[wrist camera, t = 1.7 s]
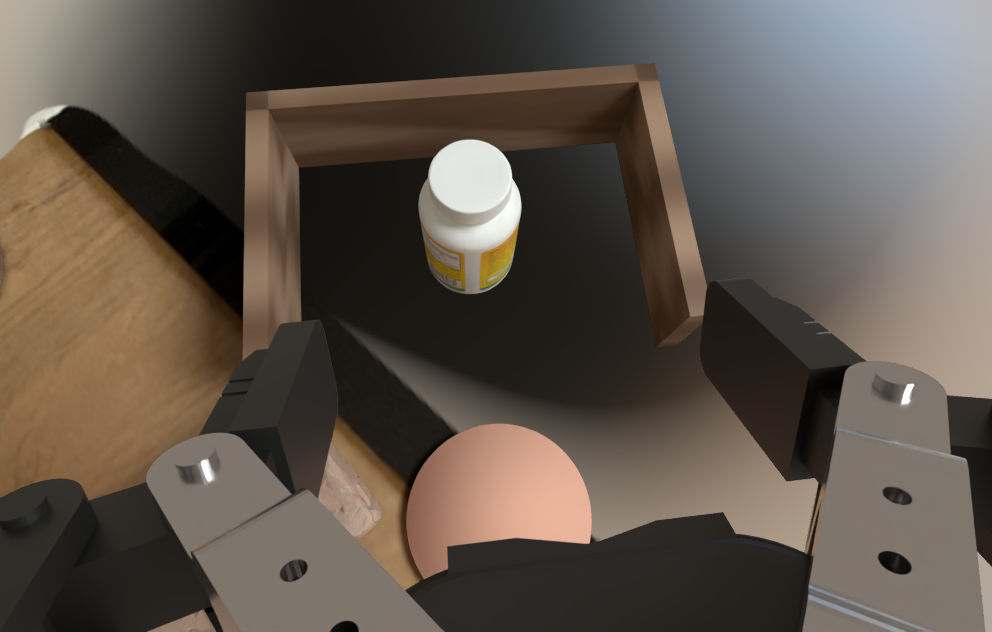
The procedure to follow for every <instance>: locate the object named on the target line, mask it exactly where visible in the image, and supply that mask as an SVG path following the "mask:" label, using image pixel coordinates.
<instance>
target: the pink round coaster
mask: <svg viewBox="0 0 992 632" xmlns="http://www.w3.org/2000/svg"><path fill="white" fill-rule="evenodd" d="M406 516H407V536H408V542H409V546H410V550H411V554H412V556H413V559H414V561H415V564H416V566H417V568H418V570H419V571H420V573H421V575H422V577H423V578H424V579H426V578H428V577H430V576H432V575H434V574H436V573H439V572H441V571H444V570H446V569H448V556H447V546H454V545H462V544H470V543H478V542H486V541H494V540H503V539H511V538H525V539H536V540H548V541H560V542H572V543H585V544H589V543H590V537H591V525H592V516H591V506H590V502H589V496H588V493H587V490H586V487H585V484H584V481H583V479H582V477H581V476H580V473H579V471H578V470H577V468H576V467H575V465H574V464H573V462H572V461H571V459H570V458H569V457H568V456H567V455H566V454H565V452H564V451H563V450H562V449H560V448H559V447H558V446H557V445H556V444H555V443H554V442H552V441H551V440H549V439H548V438H546V437H545V436H543V435H541V434H539V433H537V432H535V431H533V430H530V429H527V428H525V427H521V426H516V425H510V424H487V425H481V426H477V427H474V428H471V429H468V430H465V431H463V432H461V433H459V434H456V435H455V436H453V437H452V438H450V439H449V440H447V441H446V442H444V443H443V444H442V445H441V446H440V447H438V448H437V449H436V450H435V451H434V452H433V454H432V455H431V456H430V457H429V458H428V459H427V461H426V462H425V464H424V465H423V466H422V468H421V470H420V471H419V473H418V475H417V477H416V479H415V482H414V484H413V487H412V489H411V493H410V497H409V501H408V507H407V515H406Z"/></svg>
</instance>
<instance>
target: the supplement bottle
mask: <svg viewBox="0 0 992 632" xmlns="http://www.w3.org/2000/svg"><path fill="white" fill-rule="evenodd" d="M520 214H521V199H520V194H519V191H518V188H517V186H516V184H515V182H514V181H513V179H512V172H511V168H510V165H509V163H508V161H507V159H506V158H505V156H504V155H503V154H502V152H501V151H499V150H498V149H497V148H496V147H494V146H492V145H490V144H489V143H486V142H483V141H479V140H461V141H457V142H454V143H451V144H449V145H448V146H446V147H445V148H443V149H442V150H440V151H439V152H438V153H437V155H436V156H435V157H434V159H433V161H432V163H431V165H430V168H429V175H428V179H427V180H426V182H425V183H424V185H423V187H422V190H421V193H420V197H419V215H420V221H421V227H422V233H423V238H424V244H425V250H426V256H427V261H428V264H429V268H430V270H431V272H432V274H433V275H434V277H435V278H436V279H437V280H438V281H439V282H440V283H441V284H442V285H444V286H445V287H446V288H448V289H450V290H452V291H455V292H458V293H463V294H477V293H481V292H485V291H488V290H490V289H491V288H493V287H494V286H496V285H497V284H498V283H499V282H500V281H502V279H503V278H504V277H505V276H506V275H507V273H508V271H509V269H510V267H511V264H512V261H513V255H514V249H515V242H516V237H517V231H518V226H519V220H520Z"/></svg>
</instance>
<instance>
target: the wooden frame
mask: <svg viewBox="0 0 992 632" xmlns="http://www.w3.org/2000/svg"><path fill="white" fill-rule="evenodd" d="M461 140H479V141H483V142H486V143H489V144H490V145H492V146H494V147H496V148H497V149H498V150H499V151H512V150H524V149H537V148H549V147H561V146H573V145H585V144H599V143H611V142H615V143H616V148H617V153H618V158H619V163H620V168H621V173H622V178H623V183H624V188H625V193H626V198H627V203H628V208H629V213H630V218H631V223H632V228H633V233H634V238H635V243H636V248H637V253H638V257H639V263H640V268H641V273H642V278H643V283H644V288H645V293H646V298H647V303H648V308H649V312H650V318H651V323H652V328H653V333H654V338H655V343H656V347H660V346H669V345H676V344H677V343H679V342H680V341H681V340H682V339H684V338H685V337H686V336H687V335H688V334H690V333H691V332H692V331H693V330H694V329H696V328H697V327H698V326H700V325H701V324H702V323H703V314H704V305H705V296H706V290H707V285H706V281H705V277H704V272H703V268H702V264H701V260H700V255H699V251H698V247H697V242H696V239H695V234H694V230H693V225H692V221H691V217H690V212H689V208H688V204H687V200H686V195H685V191H684V187H683V182H682V178H681V174H680V169H679V165H678V161H677V157H676V152H675V148H674V144H673V140H672V135H671V131H670V127H669V122H668V118H667V114H666V110H665V106H664V101H663V97H662V93H661V88H660V84H659V79H658V75H657V71H656V67H655V63H652V64H639V65H626V66H625V65H624V66H611V67H596V68H582V69H568V70H555V71H542V72H527V73H513V74H501V75H500V74H499V75H487V76H486V75H485V76H471V77H457V78H444V79H430V80H416V81H402V82H389V83H374V84H360V85H348V86H347V85H346V86H333V87H319V88H305V89H291V90H277V91H263V92H249V93H246V153H245V222H244V290H243V359H242V361H243V360H244V359H245V358H247V357H248V356H249V355H250V354H252V353H253V352H254V351H255V350H260V349H268V348H269V346H270V344H271V342H272V340H273V338H274V336H275V334H276V331H277V329H278V327H279V325H280V324H281V323H290V322H300V321H301V280H300V225H299V223H300V219H299V168H300V167H313V166H325V165H337V164H350V163H362V162H375V161H387V160H400V159H412V158H425V157H435V156H436V155H437V153H438V152H439V151H440V150H442V149H443V148H445V147H446V146H448V145H449V144H451V143H454V142H457V141H461Z"/></svg>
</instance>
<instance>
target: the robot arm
mask: <svg viewBox="0 0 992 632" xmlns="http://www.w3.org/2000/svg"><path fill="white" fill-rule="evenodd" d="M3 276H4V256H3V253H2V250H1V247H0V289H1V286H2V281H3ZM700 358H701V363H702V367H703V370H704V372H705V374H706V376H707V377H708V379H709V380H710V381H711V383H712V384H713V385H714V386H715V388H716V389H717V390H718V392H719V393H720V394H721V396H722V397H723V398H724V400H725V401H726V402H727V404H728V405H729V406H730V407H731V409H732V410H733V411H734V413H735V414H736V415H737V417H738V418H739V419H740V421H741V422H742V423H743V425H744V426H745V427H746V429H747V430H748V431H749V432H750V434H751V435H752V436H753V438H754V439H755V440H756V442H757V443H758V444H759V446H760V447H761V448H762V450H763V451H764V452H765V454H766V455H767V456H768V457H769V459H770V460H771V461H772V463H773V464H774V465H775V467H776V468H777V469H778V471H779V472H780V473H781V475H782V476H783V477H784V479H785V480H786V481H794V480H802V479H810V478H815V479H816V480H817V481H818V487H817V491H816V495H815V499H814V504H813V509H812V514H811V519H810V524H809V530H808V535H807V540H806V545H805V550H804V552H802V551H799V550H797V549H795V548H792V547H789V546H787V545H784V544H781V543H778V542H775V541H771V540H767V539H764V538H760V537H754V536H749V535H742V534H735V532H734V530H733V528H732V527H731V525H730V523H729V522H728V520H727V518H726V517H725V515H724V513H723V512H722V513H714V514H706V515H697V516H689V517H681V518H673V519H665V520H657V521H654V522H651V523H649V524H646V525H643V526H640V527H637V528H635V529H632V530H629V531H627V532H624V533H621V534H618V535H615V536H613V537H610V538H608V539H604V540H602V541H599V542H595V543H589V544H585V543H572V542H560V541H548V540H536V539H525V538H511V539H503V540H494V541H486V542H478V543H470V544H462V545H454V546H447V556H448V569H446V570H444V571H441V572H439V573H436V574H434V575H432V576H430V577H428V578H426V579H424V580H421V581H420V582H418V583H416V584H415V585H413V586H412V587H410V588H408V589H407V590H404V589H403V588H402V587H401V586H400V585H399V584H398V583H397V582H396V581H395V580H394V579H393V578H392V577H391V575H390V574H389V573H388V572H387V571H386V570H385V569H384V568H383V567H382V566H381V565H380V564H379V563H378V562H377V561H376V560H375V559H374V558H373V557H372V555H371V554H370V553H369V552H368V551H367V550H366V549H365V548H364V547H363V546H362V545H361V544H360V543H359V542H358V541H357V540H356V539H355V538H354V537H353V536H352V534H351V533H350V532H349V531H348V530H347V529H346V528H345V527H344V526H343V525H342V524H341V523H340V522H339V521H338V520H337V519H336V518H335V517H334V516H333V514H332V513H331V512H330V511H329V510H328V509H327V508H326V507H325V506H324V505H323V504H322V503H321V502H320V501H319V500H318V496H319V492H320V487H321V483H322V479H323V474H324V470H325V466H326V461H327V457H328V453H329V448H330V444H331V440H332V435H333V431H334V427H335V422H336V418H337V412H338V395H337V387H336V382H335V377H334V373H333V368H332V364H331V359H330V355H329V350H328V346H327V341H326V337H325V332H324V329H323V326H322V323H321V322H320V320H310V321H300V322H290V323H281V324H280V325H279V327H278V329H277V331H276V334H275V336H274V338H273V340H272V342H271V344H270V346H269V348H268V349H260V350H255V351H254V352H253V353H252V354H250V355H249V356H248V357H247V358H245V359H244V360H243V361H242V362H240V363H239V364H238V365H237V367H236V369H235V371H234V372H233V374H232V376H231V378H230V380H229V384H227V385H226V387H225V389H224V391H223V393H222V397H220V398H219V400H218V402H217V404H216V405H215V407H214V409H213V411H212V413H211V415H210V416H209V418H208V420H207V422H206V424H205V426H204V427H203V429H202V431H201V433H200V435H199V436H197V437H193V438H190V439H188V440H185V441H183V442H181V443H179V444H177V445H175V446H173V447H172V448H170V449H169V450H167V451H166V452H164V453H163V454H162V455H161V456H160V457H158V458H157V459H156V460H155V462H154V463H153V464H152V465H151V467H150V469H149V470H148V473H147V476H146V482H145V483H143V484H140V485H137V486H134V487H131V488H128V489H125V490H122V491H119V492H115V493H112V494H109V495H106V496H103V497H99V498H96V499H93V500H90V501H89V500H88V498H87V496H86V494H85V492H84V490H83V488H82V486H81V485H80V484H79V483H78V482H76V481H73V480H69V479H51V480H46V481H41V482H37V483H34V484H30V485H28V486H25V487H22V488H20V489H18V490H15V491H13V492H11V493H9V494H7V495H5V496H4V497H2V498H0V632H148V631H150V630H153V629H155V628H158V627H160V626H163V625H165V624H168V623H171V622H173V621H176V620H178V619H181V618H183V617H186V616H188V615H191V614H193V613H196V612H198V611H201V610H202V612H203V614H204V616H205V617H206V619H207V621H208V623H209V625H210V626H211V628H212V630H213V632H985V625H984V615H983V605H982V595H981V586H980V577H979V567H978V557H977V551H978V552H979V554H980V555H981V556H982V557H983V558H984V559H985V560H986V561H987V562H988V563H989V564H990V565H991V566H992V399H985V398H973V397H959V396H948V395H947V394H946V391H945V389H944V388H943V386H942V385H941V384H940V383H939V382H938V381H936V380H935V379H934V378H932V377H931V376H929V375H927V374H925V373H923V372H921V371H919V370H916V369H914V368H911V367H908V366H905V365H900V364H896V363H890V362H881V361H868V362H867V361H865V360H864V359H863V358H861V357H860V356H859V355H858V354H857V353H855V352H854V351H853V350H852V349H850V348H849V347H848V346H847V345H845V344H844V343H843V342H842V341H840V340H839V339H838V338H837V337H835V336H834V335H833V334H828V330H827V329H825V328H824V327H823V326H822V325H820V324H819V323H815V320H814V319H813V318H812V317H810V316H809V315H808V314H807V313H805V312H804V311H803V310H802V309H800V308H799V307H797V306H794V305H792V304H789V303H787V302H785V301H782V300H780V299H778V298H773V297H772V296H771V295H770V294H768V293H767V292H766V291H765V290H764V289H762V288H761V287H760V286H758V284H756V283H755V282H754V281H753V280H751V279H750V278H739V279H729V280H720V281H712V282H711V283H710V284H709V285H708V287H707V290H706V296H705V305H704V314H703V323H702V333H701V342H700Z"/></svg>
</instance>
